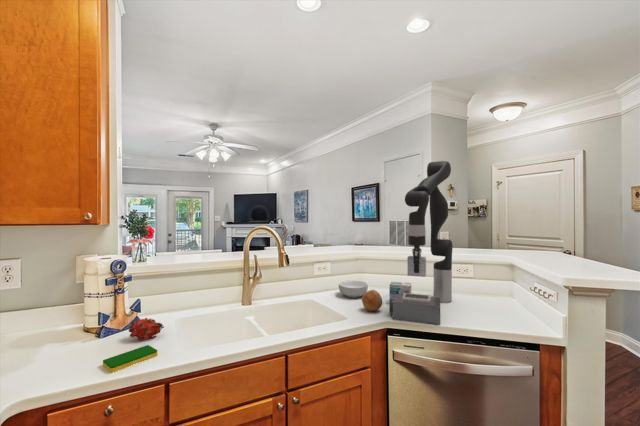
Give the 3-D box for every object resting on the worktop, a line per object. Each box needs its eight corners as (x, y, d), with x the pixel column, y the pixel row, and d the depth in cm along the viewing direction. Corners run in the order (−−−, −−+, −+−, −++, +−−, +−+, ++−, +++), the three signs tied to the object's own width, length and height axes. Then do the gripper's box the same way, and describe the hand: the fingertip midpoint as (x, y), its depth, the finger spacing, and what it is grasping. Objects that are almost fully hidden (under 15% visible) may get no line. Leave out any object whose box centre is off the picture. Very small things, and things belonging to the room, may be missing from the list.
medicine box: (426, 275, 141) (426, 256, 141) (425, 277, 137) (425, 258, 137) (408, 273, 145) (408, 255, 144) (407, 275, 140) (407, 257, 140)
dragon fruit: (126, 344, 116) (161, 344, 120) (124, 338, 110) (160, 338, 114) (132, 321, 121) (165, 322, 125) (130, 314, 115) (165, 315, 119)
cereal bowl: (336, 292, 183) (336, 280, 183) (363, 291, 185) (363, 279, 185) (341, 300, 167) (341, 287, 166) (371, 299, 168) (371, 286, 168)
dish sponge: (102, 367, 97) (102, 359, 97) (148, 351, 108) (148, 344, 108) (111, 374, 93) (111, 366, 93) (157, 357, 104) (158, 350, 104)
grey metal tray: (392, 309, 152) (392, 290, 152) (439, 314, 144) (439, 294, 144) (388, 318, 139) (388, 297, 138) (440, 324, 131) (440, 302, 131)
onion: (362, 306, 156) (362, 287, 156) (382, 308, 154) (382, 288, 154) (361, 313, 146) (361, 292, 146) (382, 314, 144) (382, 293, 144)
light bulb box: (389, 304, 160) (389, 283, 160) (391, 300, 166) (391, 281, 166) (410, 306, 156) (410, 285, 156) (411, 303, 162) (411, 282, 162)
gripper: (409, 233, 149) (409, 268, 149) (407, 235, 135) (407, 274, 135) (425, 233, 146) (425, 269, 146) (425, 236, 133) (425, 275, 133)
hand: (416, 271), depth 141 cm, fingers closed on medicine box, 4 cm apart
